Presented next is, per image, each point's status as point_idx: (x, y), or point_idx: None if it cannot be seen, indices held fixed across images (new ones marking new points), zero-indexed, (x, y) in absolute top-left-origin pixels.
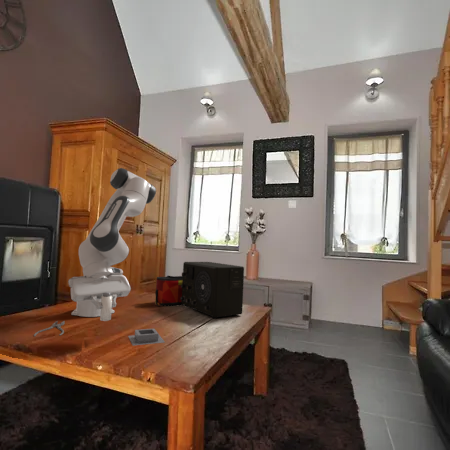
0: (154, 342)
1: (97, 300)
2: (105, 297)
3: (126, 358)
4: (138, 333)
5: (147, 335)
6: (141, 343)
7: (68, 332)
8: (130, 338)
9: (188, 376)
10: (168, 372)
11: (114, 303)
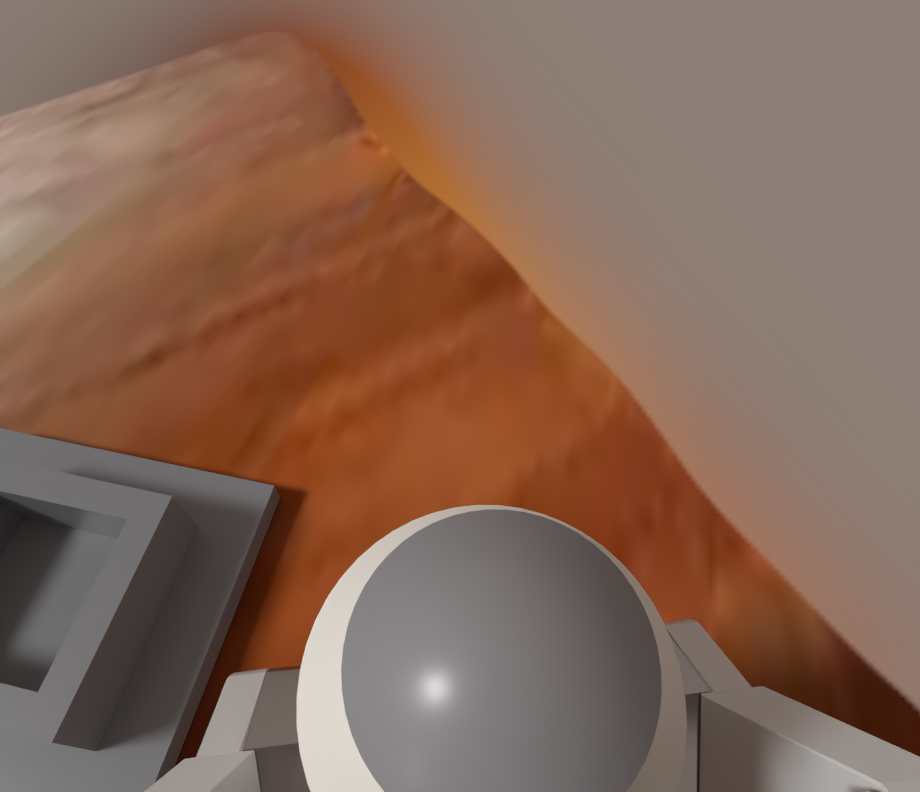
0: (69, 465)
1: (767, 731)
2: (571, 529)
3: (411, 340)
4: (122, 564)
5: (82, 479)
6: (179, 496)
7: None
8: (169, 715)
9: (261, 62)
10: (308, 115)
11: (274, 679)
